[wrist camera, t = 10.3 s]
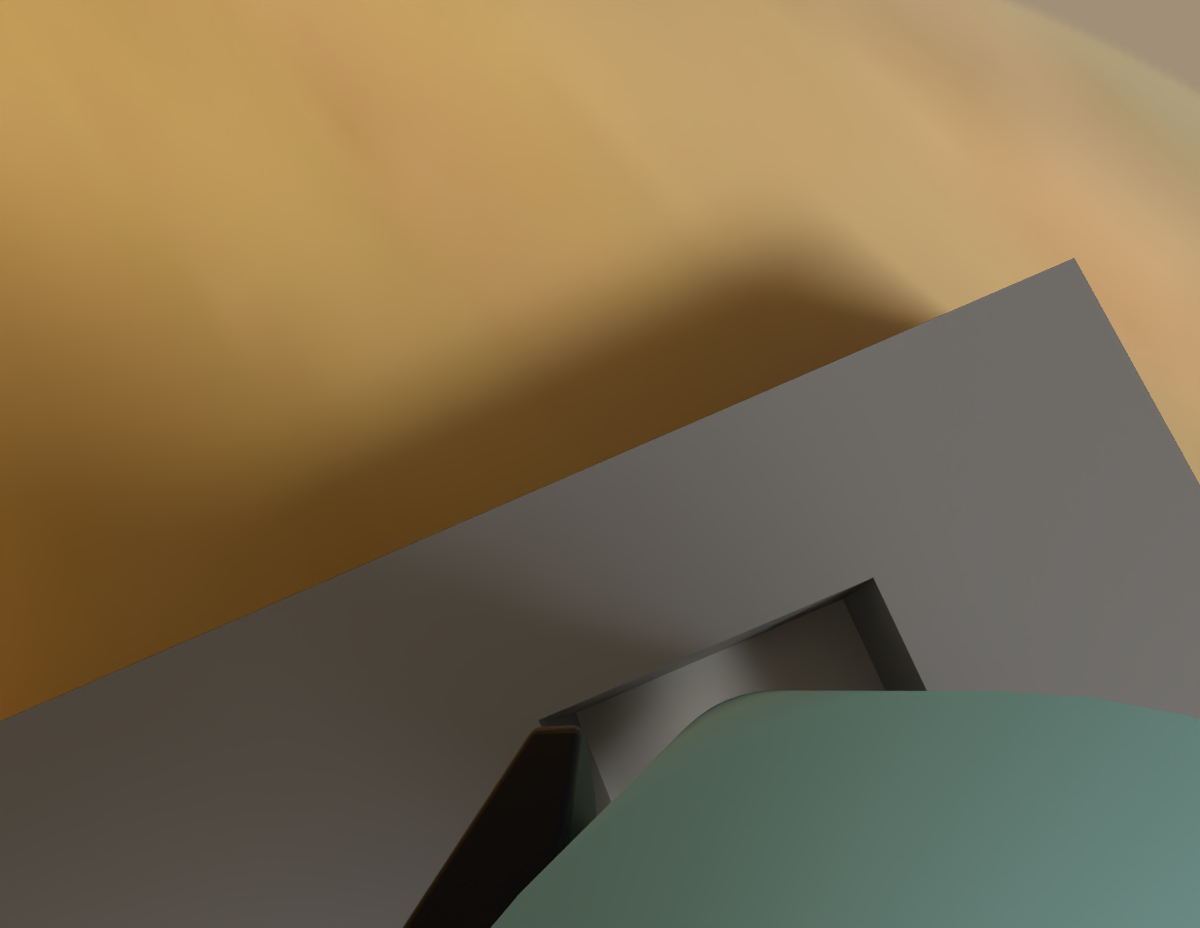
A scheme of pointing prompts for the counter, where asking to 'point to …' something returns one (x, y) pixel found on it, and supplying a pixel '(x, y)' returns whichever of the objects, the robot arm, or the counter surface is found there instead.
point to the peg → (894, 819)
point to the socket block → (633, 625)
